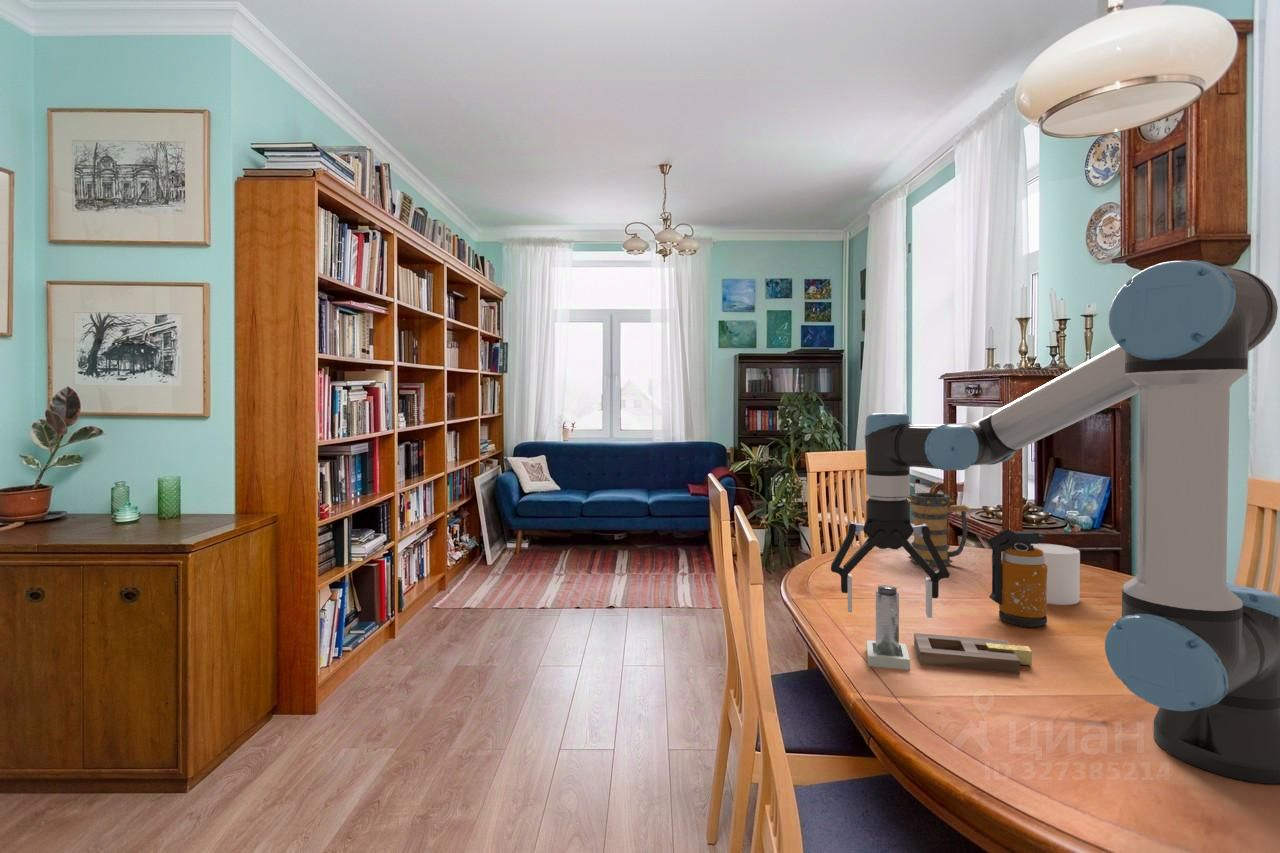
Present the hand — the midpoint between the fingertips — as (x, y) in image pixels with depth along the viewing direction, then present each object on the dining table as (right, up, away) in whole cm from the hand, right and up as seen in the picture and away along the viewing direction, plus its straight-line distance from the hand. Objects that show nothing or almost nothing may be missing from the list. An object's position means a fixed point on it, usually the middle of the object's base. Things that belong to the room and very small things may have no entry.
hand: (888, 613), depth 121 cm
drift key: (+21, -9, -1) cm, 23 cm away
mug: (+42, -6, +74) cm, 85 cm away
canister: (+36, -8, +22) cm, 43 cm away
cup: (+54, -8, +39) cm, 67 cm away
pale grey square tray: (0, -9, +1) cm, 9 cm away
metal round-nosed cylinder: (0, -8, +1) cm, 8 cm away
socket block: (+14, -9, +1) cm, 17 cm away
